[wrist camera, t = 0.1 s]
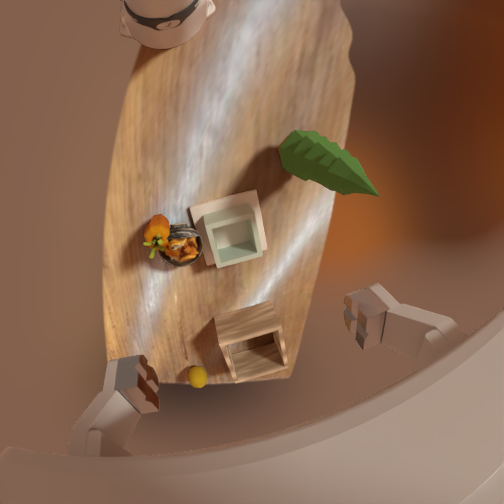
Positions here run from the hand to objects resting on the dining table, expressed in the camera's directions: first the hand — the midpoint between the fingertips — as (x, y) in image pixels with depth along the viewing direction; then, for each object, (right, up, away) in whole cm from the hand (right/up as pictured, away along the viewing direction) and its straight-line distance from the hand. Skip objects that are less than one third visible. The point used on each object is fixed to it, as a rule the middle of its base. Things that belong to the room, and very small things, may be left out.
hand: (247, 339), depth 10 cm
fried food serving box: (-1, -19, +65) cm, 67 cm away
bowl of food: (-15, +8, +47) cm, 50 cm away
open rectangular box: (-5, +8, +50) cm, 50 cm away
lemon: (-17, -31, +67) cm, 76 cm away
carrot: (-19, +11, +45) cm, 50 cm away
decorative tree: (+8, +25, +45) cm, 52 cm away
